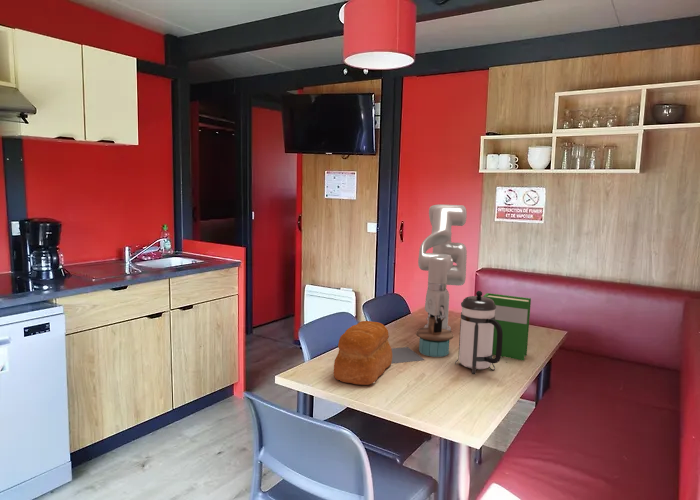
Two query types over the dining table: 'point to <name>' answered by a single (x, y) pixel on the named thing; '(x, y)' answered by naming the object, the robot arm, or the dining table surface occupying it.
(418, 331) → the lid
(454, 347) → the dining table surface
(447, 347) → the bowl
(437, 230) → the robot arm
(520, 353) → the hardback book
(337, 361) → the bread
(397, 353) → the mat
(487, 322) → the coffee press
